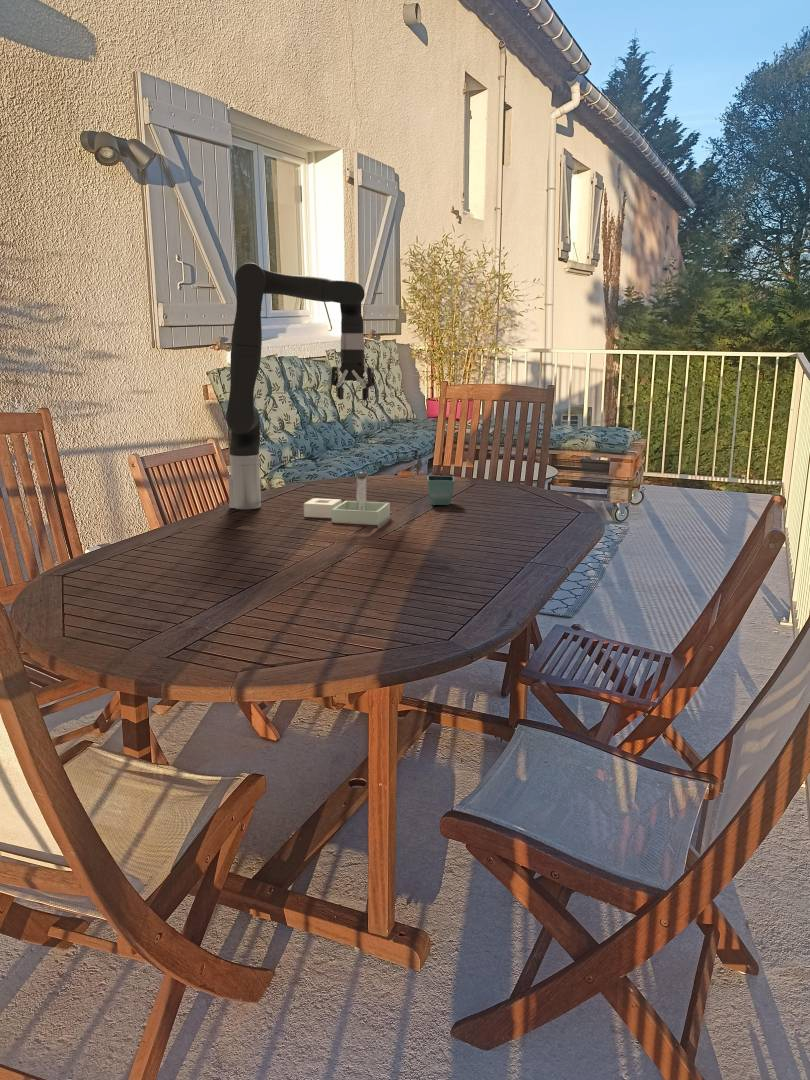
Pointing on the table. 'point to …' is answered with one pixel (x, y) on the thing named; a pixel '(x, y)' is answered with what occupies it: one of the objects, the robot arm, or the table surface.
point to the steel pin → (361, 490)
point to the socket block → (320, 507)
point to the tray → (361, 513)
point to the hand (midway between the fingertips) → (352, 399)
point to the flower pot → (440, 489)
